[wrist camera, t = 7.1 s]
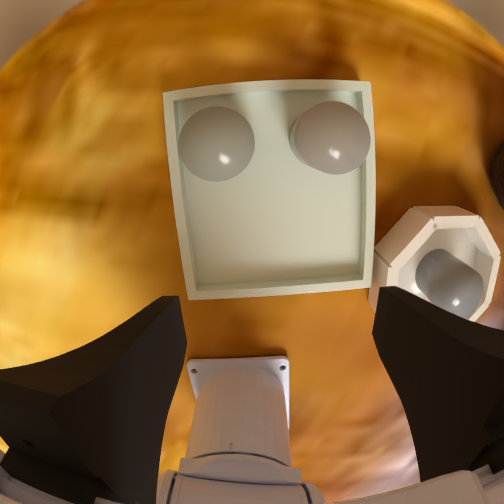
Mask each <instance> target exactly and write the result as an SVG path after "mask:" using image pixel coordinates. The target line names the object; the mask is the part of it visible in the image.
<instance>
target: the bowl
mask: <svg viewBox="0 0 504 504" xmlns="http://www.w3.org/2000/svg"><path fill="white" fill-rule="evenodd" d="M374 249H375V250H376V251H374V254H373V269H372V281H371V287H370V288H369V296H368V302H369V304H370V306H371V308H372V309H373V311H374V312H375V313H376V307H377V301H378V294H379V287H385V286H397V287H399V288H402V289H404V290H406V291H408V292H410V293H412V294H414V295H416V296H418V297H420V298H422V299H424V300H426V301H428V302H430V303H432V302H431V301H430V300H429V299H428V298H427V297H426V296H425V295H424V294H423V293H422V292H421V291H420V290H419V289H418V287H417V285H416V281H415V274H416V269H417V267H418V264H419V263H420V261H421V260H422V258H423V257H424V256H425V255H426V254H427V253H429V252H430V251H432V250H435V249H444V250H447V251H448V252H450V253H451V254H452V255H454V256H455V257H457V258H458V259H460V260H461V261H463V262H464V263H466V264H467V265H468V266H470V267H471V268H473V269H474V270H475V271H477V272H478V273H479V274H480V275H481V277H482V279H483V293H482V296H481V299H480V301H479V303H478V305H477V306H476V308H475V309H474V310H473V311H472V312H471V313H470V314H469V315H468V316H466V317H465V319H467V320H470V321H473V322H475V321H476V320H477V319H478V317H479V316H480V315H481V314H482V313H483V312H484V311H485V310H486V308H487V307H488V306H489V304H488V303H491V299H492V295H493V291H494V287H495V282H496V278H497V273H498V268H499V263H500V258H501V255H500V251H499V249H498V247H497V245H496V243H495V241H494V239H493V237H492V236H491V234H490V232H489V230H488V228H487V226H486V225H485V223H484V221H483V219H482V218H481V217H480V216H479V215H477V214H474V213H472V212H470V211H467V210H465V209H462V208H460V207H458V206H413V209H412V208H409V209H408V211H407V212H406V213H405V214H404V215H403V216H402V217H401V218H400V220H399V221H398V222H397V223H396V224H395V225H394V226H393V227H392V228H391V229H390V231H389V232H388V233H387V234H386V235H385V236H384V237H383V238H382V239H381V240H380V241H379V242H378V243H377V245H376V246H375V247H374ZM432 304H433V303H432Z"/></svg>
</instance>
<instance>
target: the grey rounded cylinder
mask: <svg viewBox="0 0 504 504" xmlns="http://www.w3.org/2000/svg"><path fill="white" fill-rule="evenodd" d="M415 281H416V285H417V287H418V289H419V290H420V291H421V292H422V293H423V294H424V295H425V296H426V297H427V298H428V299H429V300H430V301H431V302H432V303H433V304H434V305H436V306H438V307H440V308H442V309H444V310H446V311H449V312H451V313H453V314H455V315H457V316H460V317H462V318H465V317H466V316H468V315H469V314H470V313H471V312H472V311H473V310H474V309H475V308H476V306H477V305H478V303H479V301H480V299H481V296H482V293H483V279H482V277H481V275H480V274H479V273H478V272H477V271H475V270H474V269H473V268H471V267H470V266H468V265H467V264H466V263H464V262H463V261H461V260H460V259H458V258H457V257H455V256H454V255H452V254H451V253H450V252H448V251H447V250H444V249H435V250H432V251H430V252H429V253H427V254H426V255H425V256H424V257H423V258H422V260H421V261H420V263H419V264H418V267H417V269H416V274H415Z"/></svg>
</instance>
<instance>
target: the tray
mask: <svg viewBox="0 0 504 504" xmlns="http://www.w3.org/2000/svg"><path fill="white" fill-rule="evenodd" d="M326 101H339V102H343V103H346V104H348V105H350V106H352V107H353V108H355V109H356V110H357V111H358V112H359V113H360V114H361V115H362V116H363V118H364V119H365V121H366V123H367V125H368V127H369V131H370V137H371V143H370V149H369V152H368V154H367V156H366V158H365V160H364V161H363V162H362V164H361V165H360V166H359V167H357V168H356V169H354V170H353V171H351V172H348V173H345V174H339V175H333V174H327V173H324V172H321V171H319V170H317V169H315V168H312V167H310V166H308V165H305V164H304V163H302V162H301V161H300V160H298V159H297V158H296V156H295V155H294V154H293V152H292V150H291V147H290V144H289V131H290V128H291V125H292V123H293V122H294V120H295V119H296V118H297V117H298V116H299V115H301V114H302V113H304V112H305V111H307V110H308V109H310V108H312V107H313V106H315V105H317V104H319V103H322V102H326ZM163 106H164V119H165V131H166V142H167V153H168V162H169V172H170V180H171V189H172V197H173V205H174V213H175V220H176V227H177V234H178V241H179V247H180V254H181V260H182V266H183V272H184V278H185V284H186V290H187V296H188V300H208V299H228V298H246V297H262V296H277V295H291V294H304V293H316V292H328V291H339V290H350V289H360V288H370V287H371V281H372V269H373V254H374V235H375V201H376V172H375V138H374V119H373V105H372V93H371V83H370V82H366V81H350V80H321V79H295V80H266V81H250V82H237V83H226V84H217V85H208V86H201V87H193V88H187V89H180V90H174V91H168V92H163ZM215 106H220V107H226V108H230V109H233V110H235V111H237V112H238V113H240V114H241V115H242V116H243V117H244V118H245V119H246V120H247V121H248V123H249V124H250V126H251V128H252V130H253V133H254V138H255V149H254V153H253V156H252V159H251V161H250V163H249V164H248V166H247V167H246V168H245V169H244V170H243V171H242V172H241V173H240V174H238V175H237V176H235V177H233V178H231V179H228V180H225V181H216V182H214V181H207V180H204V179H201V178H199V177H197V176H195V175H194V174H192V173H191V172H190V171H189V170H188V169H187V168H186V167H185V165H184V163H183V162H182V160H181V157H180V154H179V149H178V141H179V136H180V132H181V130H182V128H183V126H184V124H185V123H186V121H187V120H188V119H189V118H190V117H191V116H192V115H193V114H195V113H196V112H198V111H200V110H202V109H205V108H208V107H215Z"/></svg>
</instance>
